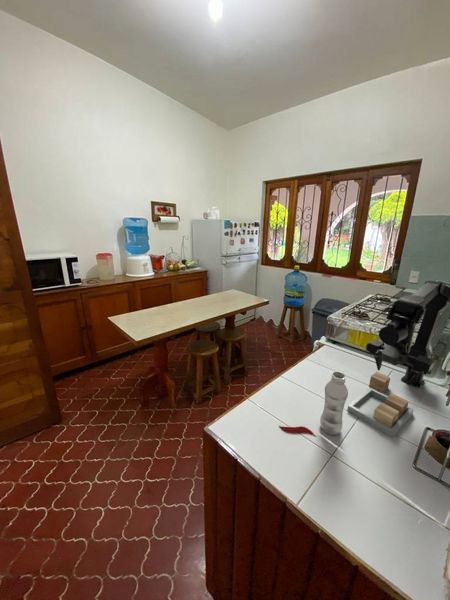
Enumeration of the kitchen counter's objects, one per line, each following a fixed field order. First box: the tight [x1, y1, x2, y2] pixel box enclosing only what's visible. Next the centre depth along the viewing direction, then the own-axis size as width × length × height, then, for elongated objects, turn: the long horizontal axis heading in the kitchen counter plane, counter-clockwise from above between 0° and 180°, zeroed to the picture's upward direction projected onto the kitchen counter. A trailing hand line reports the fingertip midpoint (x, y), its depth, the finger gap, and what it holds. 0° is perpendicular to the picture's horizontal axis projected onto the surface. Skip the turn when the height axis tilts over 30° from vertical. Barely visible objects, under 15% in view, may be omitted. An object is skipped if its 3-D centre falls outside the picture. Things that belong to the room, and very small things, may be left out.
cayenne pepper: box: [278, 425, 317, 438], centre depth 77 cm, size 12×5×2 cm, turn 61°
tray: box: [347, 387, 415, 438], centre depth 84 cm, size 16×14×2 cm
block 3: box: [385, 392, 410, 420], centre depth 83 cm, size 5×5×5 cm
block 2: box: [373, 403, 399, 428], centre depth 79 cm, size 5×5×5 cm
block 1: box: [368, 371, 391, 393], centre depth 97 cm, size 5×5×5 cm
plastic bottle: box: [319, 371, 349, 436], centre depth 75 cm, size 6×7×20 cm
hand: (392, 375), depth 87 cm, fingers open, 9 cm apart
